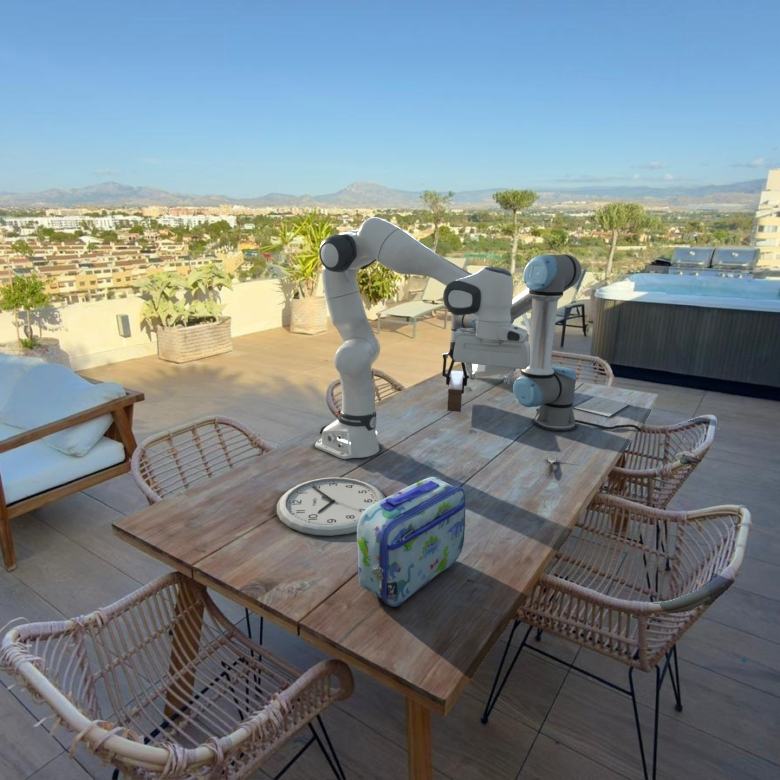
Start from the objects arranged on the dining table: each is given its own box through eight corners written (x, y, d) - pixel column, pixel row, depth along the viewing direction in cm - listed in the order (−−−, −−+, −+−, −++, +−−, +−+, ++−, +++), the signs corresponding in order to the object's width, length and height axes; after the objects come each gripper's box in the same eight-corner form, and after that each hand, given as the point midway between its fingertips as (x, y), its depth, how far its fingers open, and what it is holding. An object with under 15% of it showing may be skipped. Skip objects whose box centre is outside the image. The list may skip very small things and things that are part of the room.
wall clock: (392, 527, 129) (268, 531, 127) (391, 533, 130) (269, 537, 127) (383, 473, 158) (282, 475, 155) (383, 478, 158) (282, 480, 156)
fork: (545, 476, 161) (545, 470, 161) (548, 456, 176) (549, 450, 175) (553, 477, 160) (554, 471, 160) (556, 457, 175) (557, 452, 174)
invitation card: (608, 416, 214) (573, 407, 224) (608, 416, 214) (573, 408, 224) (628, 404, 229) (594, 396, 238) (628, 405, 229) (594, 397, 238)
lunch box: (386, 620, 101) (388, 525, 95) (350, 593, 108) (349, 503, 102) (468, 563, 119) (474, 480, 112) (432, 543, 126) (436, 464, 120)
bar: (450, 390, 234) (451, 370, 231) (462, 390, 233) (463, 371, 231) (447, 410, 208) (448, 389, 205) (460, 411, 207) (462, 390, 204)
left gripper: (451, 329, 138) (448, 379, 142) (530, 336, 131) (525, 388, 135) (457, 325, 144) (454, 373, 148) (533, 331, 136) (528, 382, 141)
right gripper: (437, 341, 220) (434, 393, 227) (481, 343, 218) (477, 396, 225) (438, 337, 227) (435, 388, 234) (480, 339, 225) (476, 391, 232)
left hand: (489, 381), depth 141 cm, fingers open, 8 cm apart
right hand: (455, 392), depth 229 cm, fingers closed on bar, 5 cm apart
